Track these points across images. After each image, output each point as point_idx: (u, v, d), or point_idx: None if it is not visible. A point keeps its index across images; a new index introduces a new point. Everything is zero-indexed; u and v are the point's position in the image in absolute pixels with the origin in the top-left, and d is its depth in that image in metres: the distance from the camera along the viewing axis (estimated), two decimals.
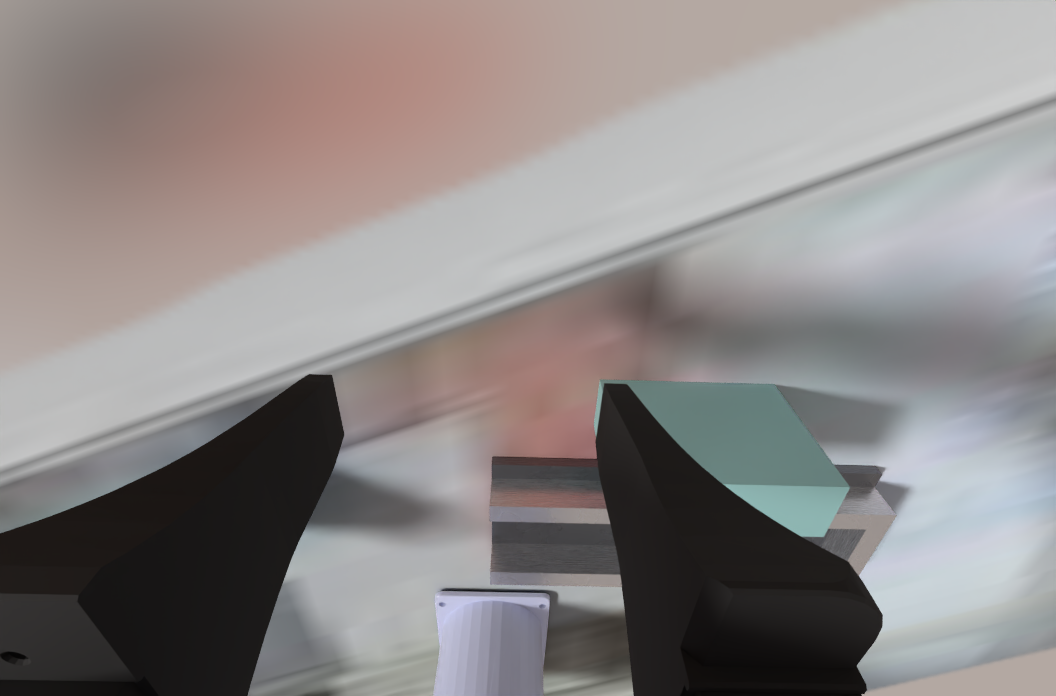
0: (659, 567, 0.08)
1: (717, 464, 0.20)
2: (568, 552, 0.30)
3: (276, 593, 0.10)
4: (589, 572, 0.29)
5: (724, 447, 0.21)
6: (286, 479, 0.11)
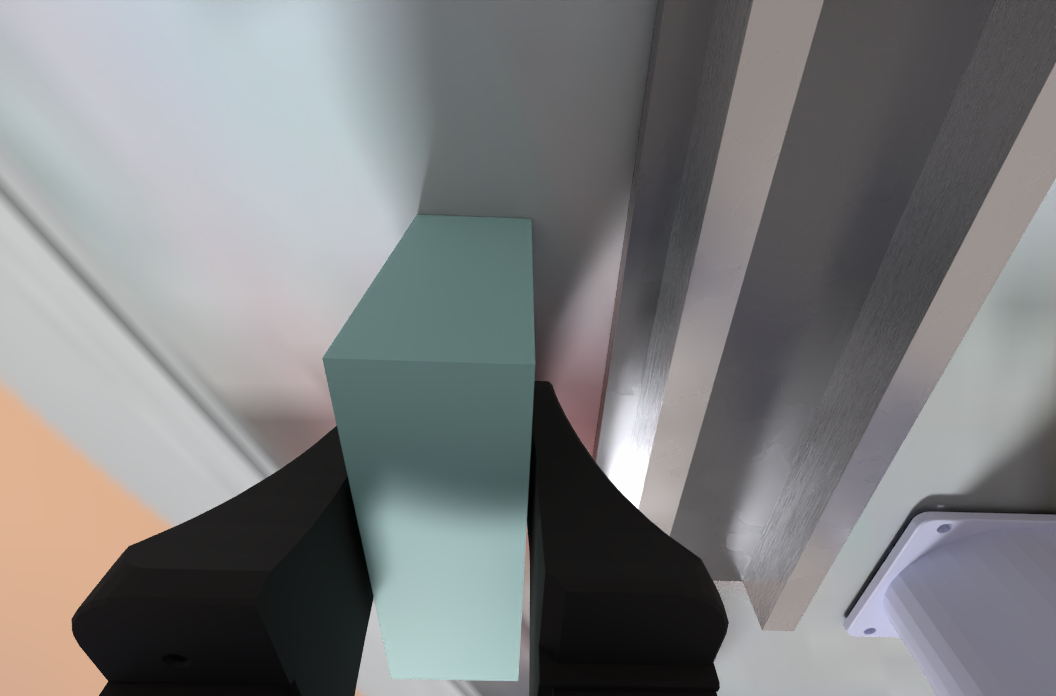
0: (537, 564, 0.08)
1: None
2: (784, 513, 0.17)
3: (372, 595, 0.10)
4: (815, 521, 0.15)
5: None
6: None
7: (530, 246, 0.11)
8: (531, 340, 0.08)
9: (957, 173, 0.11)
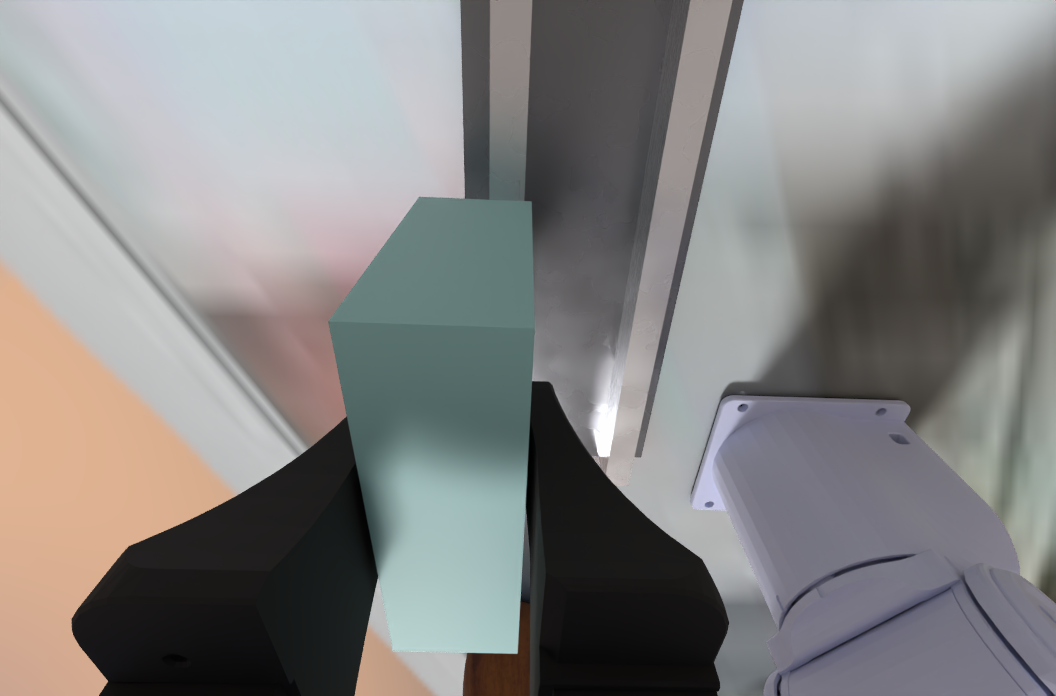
0: (537, 564, 0.08)
1: None
2: (612, 389, 0.23)
3: (371, 595, 0.10)
4: None
5: None
6: None
7: (530, 225, 0.11)
8: (531, 307, 0.08)
9: (660, 120, 0.17)
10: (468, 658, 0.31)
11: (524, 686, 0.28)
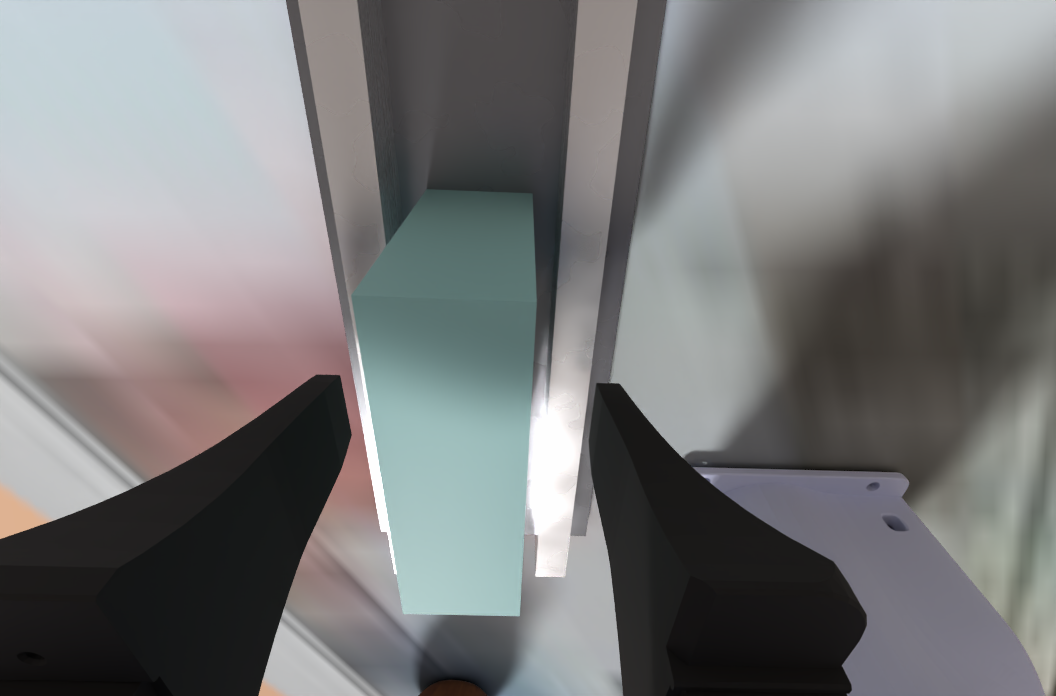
0: (647, 567, 0.08)
1: None
2: (540, 465, 0.19)
3: (285, 593, 0.10)
4: None
5: None
6: (296, 479, 0.11)
7: (531, 214, 0.12)
8: (533, 284, 0.09)
9: (564, 142, 0.12)
10: None
11: None
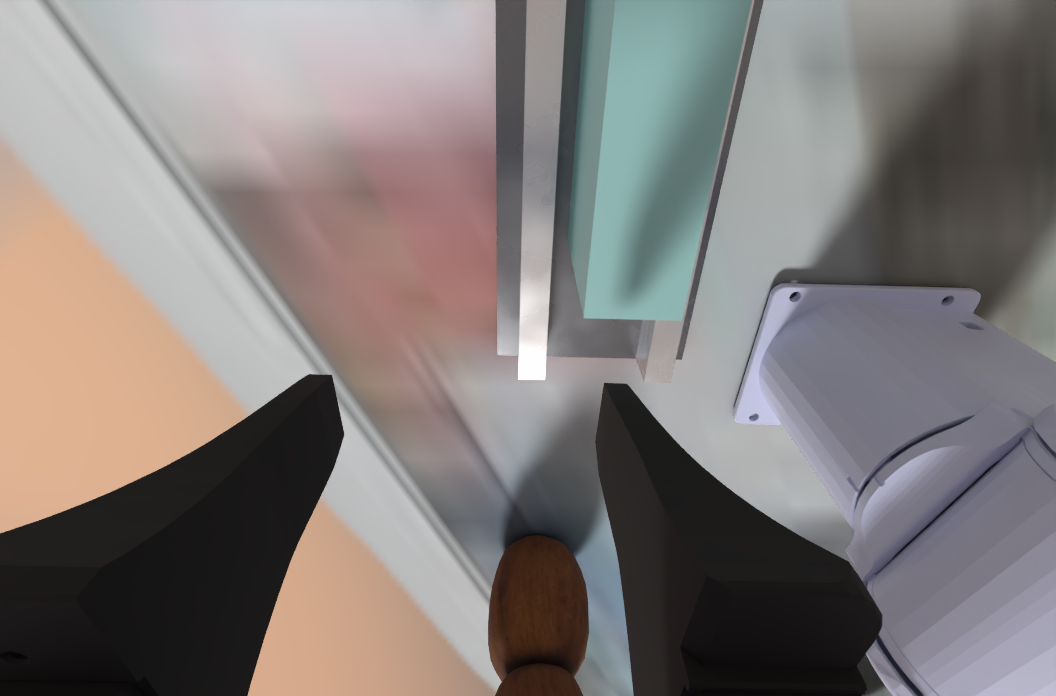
0: (659, 567, 0.08)
1: (592, 170, 0.14)
2: None
3: (276, 593, 0.10)
4: None
5: (590, 139, 0.14)
6: (286, 479, 0.11)
7: None
8: None
9: None
10: (493, 592, 0.29)
11: (555, 614, 0.26)
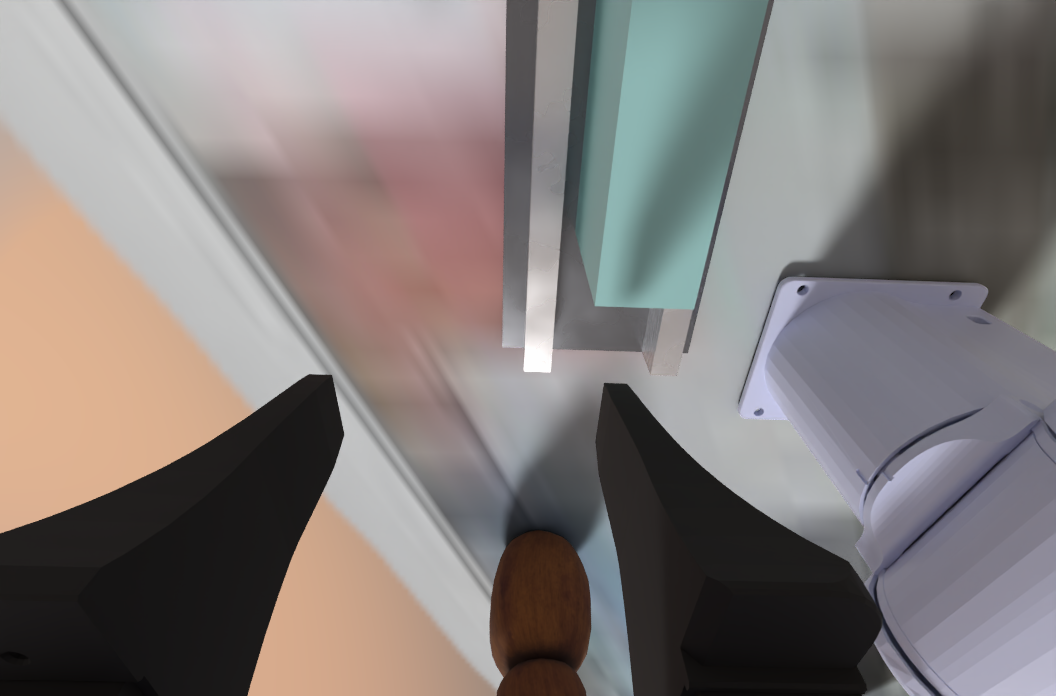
0: (659, 567, 0.08)
1: (606, 155, 0.13)
2: None
3: (276, 593, 0.10)
4: None
5: (604, 124, 0.14)
6: (286, 479, 0.11)
7: None
8: None
9: None
10: (495, 587, 0.29)
11: (558, 609, 0.26)
